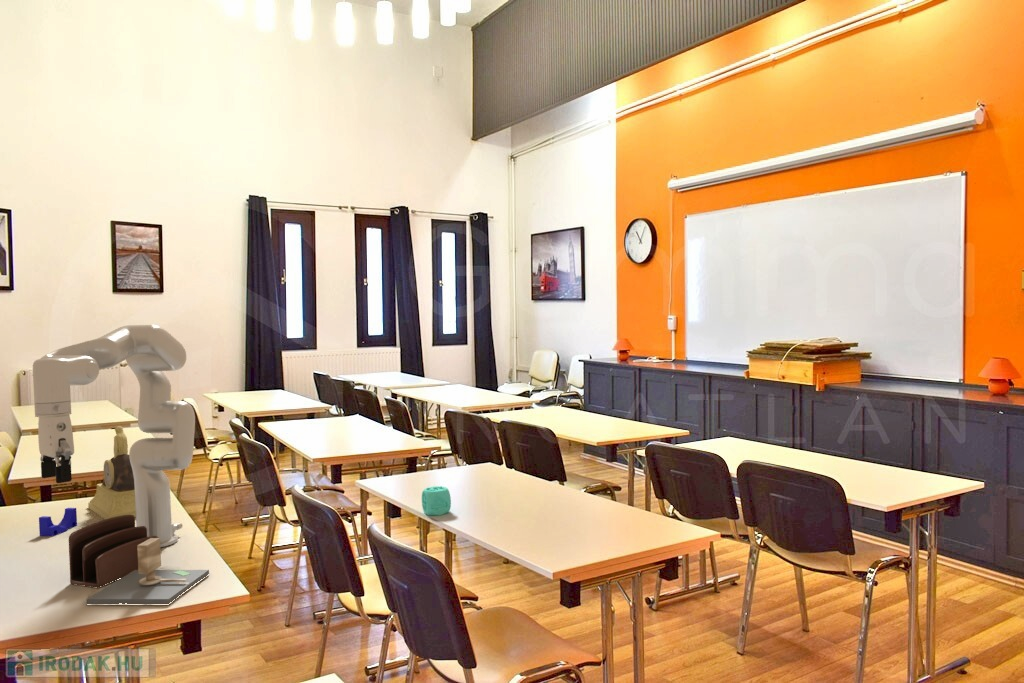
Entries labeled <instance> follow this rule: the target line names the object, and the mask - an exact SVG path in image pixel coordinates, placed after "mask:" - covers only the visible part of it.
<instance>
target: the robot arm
mask: <svg viewBox="0 0 1024 683" xmlns="http://www.w3.org/2000/svg"><path fill="white" fill-rule="evenodd" d="M184 347H185V346H183V344H182V343H181V342H180V341H179V340H177V339H176V338H175V337H174V336H173V335H172V334H171V333H169V331H167V330H166V329H164V328H162V327H161V326H159V325H156V324H135V325H134V324H133V325H132V324H130V325H123V326H120V327H117V328H115V329H113V330H112V331H109V332H108V333H106V334H103V335H101V336H99V337H97V338H95V339H91V340H86V341H83V342H80V343H76V344H72V345H68V346H64V347H61V348H58V349H55V350H53V351H51V352H49V353H46V354H45V355H44V356H41V357H40V358H38V359H36V360H34V362H33V364H32V379H33V380H32V382H33V401H34V403H33V404H34V417H35V418H38V423H37V424H38V429H37V430H38V432H37V433H38V434H37V435H38V439H37V440H38V451H39V453H40V459H39V460H40V469H41V470H40V472H41V478H42V479H48V478H54V477H55V483H56V484H63V483H68V482H69V483H70V482H71V481H72V479H73V478H72V477H73V476H72V456H73V455H74V453H75V444H74V434H73V426H72V425H73V424H72V420H71V416H70V415H71V414H72V399H71V396H72V395H71V386H72V387H73V386H85V385H89V384H92V383H93V382H95V381H96V379H97V378H98V376H99V374H100V370H105V369H108V368H112V367H116V366H117V365H118V364H120V363H122V362H124V361H125V362H126V364H127V365H128V367H129V368H130V369H131V371H132V372H133V374H134V375H135V377H136V379H137V381H138V384H139V401H138V402H139V403H138V412H137V415H138V416H137V425H138V428H139V430H140V431H141V432H143V433H147V434H172V437H146V438H141V439H137V440H136V441H135V442H134V443H133V444H131V447H130V448H129V450H128V455H129V458H130V463H131V466H132V470H133V476H134V485H135V506H136V518H135V527H139V526H145V527H146V528H147V537H151V536H157V537H159V538H160V547H161V548H164V547H168V546H171V545H173V544H175V543H177V542H178V539H179V537H178V536H179V535H177V534H175V532H176V531H178V530H181V529H182V528H183V523H182V522H178V523H177V522H176V523H172V505H171V502H172V501H171V498H172V497H171V484H170V479H169V477H168V476H167V474H166V473H165V471H182V470H185V469H188V467H189V466H190V465H191V462H192V461H193V455H194V448H195V447H194V446H195V445H194V444H195V432H196V431H195V428H196V415H195V410H194V407H193V406H192V405H191V404H190V403H189V402H186V401H180V400H179V401H178V400H177V401H172V400H171V399H172V396H171V395H172V385H171V383H170V380H169V378H168V377H167V375H166V374H165V373H164V372H171V371H172V372H173V371H178V370H180V369H182V368H183V367H184V366H185V364H186V361H187V351H186V349H185V348H184Z"/></svg>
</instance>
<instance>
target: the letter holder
mask: <svg viewBox="0 0 1024 683" xmlns="http://www.w3.org/2000/svg"><path fill="white" fill-rule="evenodd" d="M150 538H159V537H157V536H151V537H147V528H146V527H145V526H139V527H136V518H135V517H134V515H123V516H117V517H113V518H109V519H103V520H100V521H96V522H94V523H91V524H88V525H85V526H84V527H81V528H78V529H77V530H75V531H72V532H71V533H70V535H69V536H68V557H69V560H68V561H69V563H68V564H69V583H70V585H74V584H77V585H76V586H80V585H85V586H84V587H87V586H91V587H90V588H93V587H97V588H96V589H99V588H101V587H100V586H102V587H104V586H106V585H105V584H107V583H109V584H111V583H110V582H112V581H115V580H117V579H119V578H122V577H124V576H126V575H127V574H129V573H131V572H132V571H134V570H138V549H137V545H139V544H141V543H143V542H145V541H146V540H148V539H150ZM115 582H116V581H115ZM112 583H113V582H112ZM103 585H104V586H103ZM107 585H108V584H107ZM98 587H99V588H98Z"/></svg>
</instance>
